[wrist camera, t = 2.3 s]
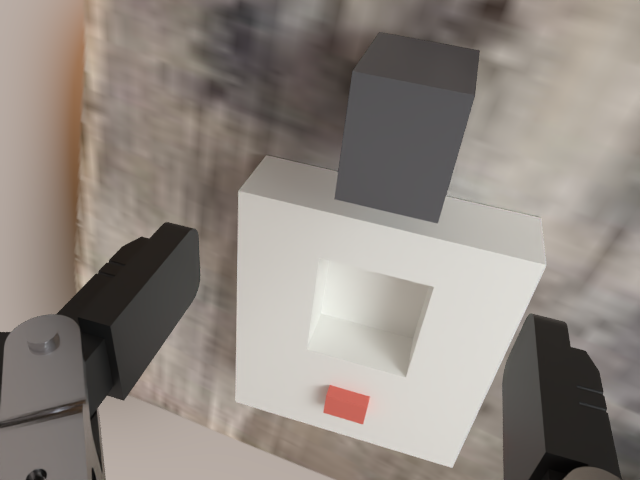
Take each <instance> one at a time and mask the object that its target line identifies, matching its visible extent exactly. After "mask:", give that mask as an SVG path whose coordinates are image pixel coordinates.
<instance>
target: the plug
mask: <svg viewBox="0 0 640 480" xmlns="http://www.w3.org/2000/svg"><path fill="white" fill-rule="evenodd" d="M479 53H480V51H479V50H474V49H469V48H463V47H458V46H452V45H447V44H442V43H436V42H431V41H425V40H420V39H415V38H409V37H404V36H398V35H393V34H388V33H382V32H379V33H378V35H377V36H376V38H375V39H374V41H373V42H372V44H371V45H370V46H369V48H368V49H367V51H366V52H365V54H364V55H363V57H362V58H361V59H360V61H359V62H358V64H357V65H356V67H355V68H354V70H353V71H352V78H351V85H350V92H349V99H348V106H347V113H346V120H345V127H344V134H343V141H342V148H341V155H340V162H339V169H338V177H337V184H336V191H335V198H334V199H336V200H340V201H344V202H348V203H353V204H357V205H361V206H365V207H369V208H374V209H378V210H382V211H386V212H391V213H395V214H399V215H403V216H408V217H412V218H416V219H420V220H424V221H429V222H433V223H437V224H438V221H439V218H440V215H441V211H442V208H443V204H444V201H445V197H446V194H447V190H448V187H449V183H450V180H451V176H452V173H453V170H454V166H455V163H456V159H457V156H458V152H459V149H460V145H461V142H462V138H463V135H464V131H465V128H466V125H467V121H468V118H469V114H470V111H471V107H472V104H473V100H474V97H475V90H476V81H477V72H478V62H479Z"/></svg>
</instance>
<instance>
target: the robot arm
mask: <svg viewBox="0 0 640 480" xmlns="http://www.w3.org/2000/svg"><path fill="white" fill-rule="evenodd" d="M199 282H200V261H199V237H198V232H197V230H196V229H193V228H189V227H185V226H181V225H177V224H173V223H169V222H166V223H164V224H163V225H162V226H161V227H160V228H159V229H158V230H157V231H156V232H155V233H154V234H153V235H152V237H151V238H150V239H148V238H144V237H140V238H138V239H136V240H134V241H132V242H130V243H128V244H126V245H124V246H123V247H121V249H120V250H119V251H118V252H117V253H116V254H115V255H114V256H113V257H112V258H111V259H110V260H109V263H106V264H105V265H104V266H103V267H102V268H101V269H100V270H99V273H98V274H95V275H94V276H93V277H92V278H91V279H90V280H89V281H88V282H87V283H86V284H85V285H84V286H83V288H82V289H81V290H80V291H79V292H78V293H77V294H76V295H75V296H74V297H73V298H72V299H71V300H70V301H69V302H68V303H67V304H66V305H65V306H64V307H63V308H62V309H61V310H60V311H59V312H58V313H57V314H50V315H43V316H38V317H35V318H32V319H29V320H27V321H25V322H23V323H21V324H20V325H18V327H16V328H15V329H14V330H13V331H12V332H0V480H106V478H105V468H104V458H103V448H102V438H101V428H100V417H99V411H98V407H99V405H100V404H101V403H102V401H103V400H104V399H105V397H106V396H107V395H108V396H111V397H114V398H117V399H121V400H124V399H125V398H126V397H127V395H128V394H129V392H130V391H131V390H132V388H133V387H134V385H135V384H136V382H137V381H138V379H139V378H140V377H141V375H142V374H143V372H144V371H145V369H146V368H147V366H148V365H149V364H150V362H151V361H152V359H153V358H154V356H155V355H156V353H157V352H158V350H159V349H160V348H161V346H162V345H163V343H164V342H165V340H166V339H167V337H168V336H169V335H170V333H171V332H172V330H173V329H174V327H175V326H176V324H177V323H178V322H179V320H180V319H181V317H182V316H183V314H184V313H185V311H186V310H187V309H188V307H189V306H190V304H191V303H192V301H193V300H194V298H195V296H196V293H197V291H198V287H199ZM502 396H503V462H504V480H622V478H621V475H620V470H619V465H618V460H617V455H616V450H615V446H614V441H613V436H612V431H611V426H610V421H609V417H608V413H606V410H607V407H606V402H605V397H604V396H603V388H602V383H601V378H600V373H599V370H598V369H597V367H596V366H595V364H594V363H593V361H592V360H591V358H590V357H589V355H588V354H587V352H586V351H584V350H580V349H576V348H572V347H570V340H569V334H568V328H567V324H566V323H565V322H563V321H559V320H555V319H551V318H547V317H543V316H539V315H535V314H529V315H528V317H527V318H526V320H525V322H524V324H523V327H522V329H521V331H520V333H519V335H518V337H517V340H516V342H515V344H514V346H513V348H512V350H511V353H510V355H509V357H508V359H507V362H506V365H505V369H504V374H503V382H502Z"/></svg>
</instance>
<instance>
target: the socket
mask: <svg viewBox="0 0 640 480" xmlns="http://www.w3.org/2000/svg"><path fill="white" fill-rule="evenodd" d="M337 177H338V171H334V170H329V169H325V168H320V167H316V166H312V165H307V164H303V163H299V162H294V161H290V160H285V159H281V158H277V157H272V156H268V155H266V156H265V157H264V159H263V160H262V161H261V163H260V164H259V165H258V166H257V168H256V169H255V170H254V171H253V173H252V174H251V175H250V177H249V178H248V179H247V180H246V182H245V183H244V184H243V185H242V187H241V188H240V189H239V191H238V250H237V321H236V392H235V402H238V403H241V404H244V405H247V406H251V407H254V408H257V409H261V410H264V411H267V412H270V413H274V414H277V415H280V416H284V417H287V418H290V419H293V420H297V421H300V422H303V423H307V424H310V425H313V426H316V427H320V428H323V429H326V430H330V431H333V432H336V433H339V434H343V435H346V436H349V437H353V438H356V439H359V440H362V441H366V442H369V443H372V444H376V445H379V446H382V447H385V448H389V449H392V450H395V451H399V452H402V453H405V454H408V455H412V456H415V457H418V458H422V459H425V460H428V461H431V462H435V463H438V464H441V465H444V466H448V467H451V468H452V467H453V465H454V463H455V461H456V459H457V457H458V454H459V452H460V450H461V448H462V446H463V444H464V441H465V439H466V437H467V435H468V433H469V431H470V429H471V426H472V424H473V422H474V420H475V418H476V416H477V414H478V411H479V409H480V407H481V405H482V403H483V401H484V398H485V396H486V394H487V392H488V390H489V388H490V386H491V383H492V381H493V379H494V377H495V375H496V373H497V370H498V368H499V366H500V364H501V362H502V360H503V358H504V355H505V353H506V351H507V349H508V347H509V345H510V343H511V340H512V338H513V336H514V334H515V332H516V330H517V327H518V325H519V323H520V321H521V319H522V317H523V315H524V312H525V310H526V308H527V306H528V304H529V302H530V300H531V297H532V295H533V293H534V291H535V289H536V287H537V284H538V282H539V280H540V278H541V276H542V274H543V272H544V269H545V267H546V265H547V264H546V256H545V247H544V238H543V229H542V220H541V218H540V217H535V216H531V215H527V214H522V213H518V212H513V211H509V210H505V209H500V208H496V207H491V206H487V205H483V204H478V203H474V202H470V201H465V200H461V199H456V198H452V197H448V196H446V197H445V201H444V204H443V208H442V211H441V215H440V218H439V221H438V224H437V223H433V222H429V221H424V220H420V219H416V218H412V217H408V216H403V215H399V214H395V213H391V212H386V211H382V210H378V209H374V208H369V207H365V206H361V205H357V204H353V203H348V202H344V201H340V200H336V199H334V198H335V191H336V184H337Z"/></svg>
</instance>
